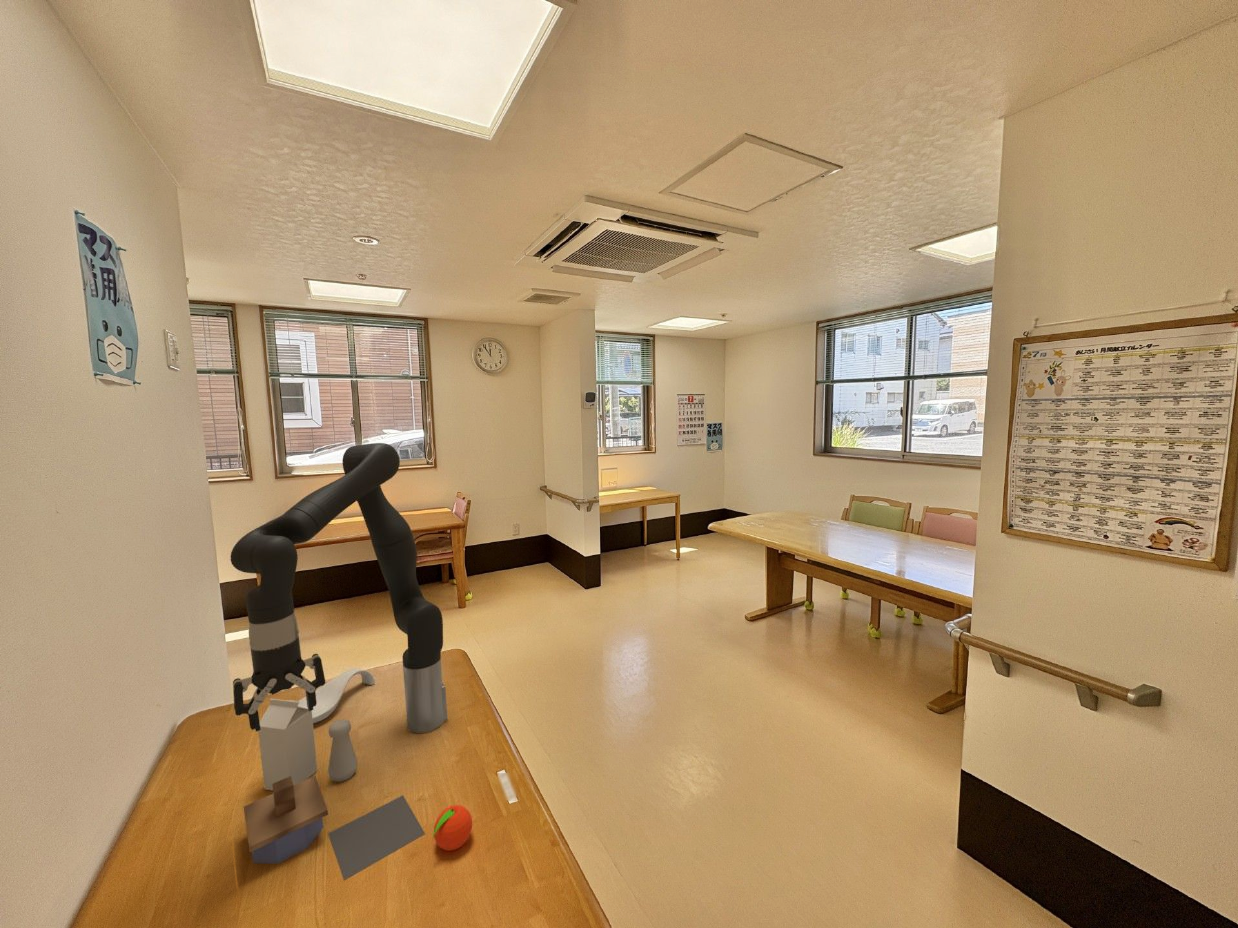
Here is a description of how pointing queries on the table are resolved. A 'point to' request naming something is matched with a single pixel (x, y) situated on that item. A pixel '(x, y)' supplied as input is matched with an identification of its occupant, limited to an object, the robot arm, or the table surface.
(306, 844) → the bowl
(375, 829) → the mat
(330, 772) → the salt shaker
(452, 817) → the clementine
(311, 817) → the lid
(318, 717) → the spoon rest
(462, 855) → the table surface
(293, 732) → the milk carton
